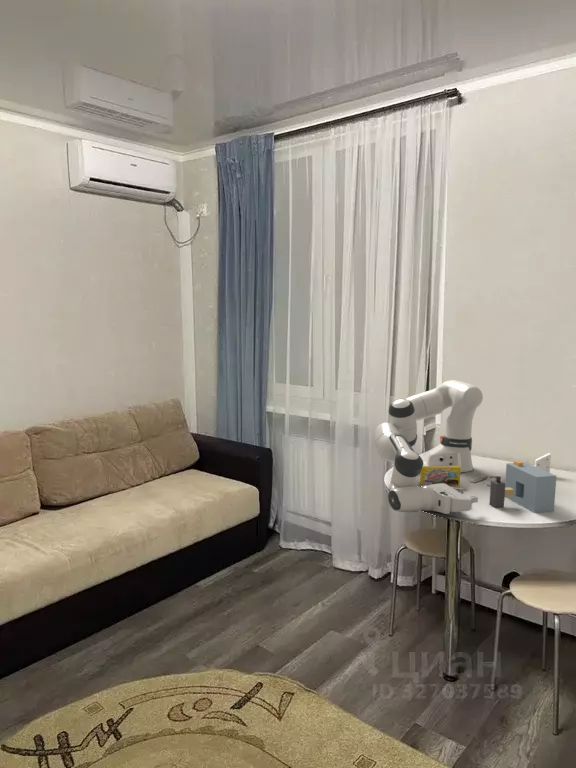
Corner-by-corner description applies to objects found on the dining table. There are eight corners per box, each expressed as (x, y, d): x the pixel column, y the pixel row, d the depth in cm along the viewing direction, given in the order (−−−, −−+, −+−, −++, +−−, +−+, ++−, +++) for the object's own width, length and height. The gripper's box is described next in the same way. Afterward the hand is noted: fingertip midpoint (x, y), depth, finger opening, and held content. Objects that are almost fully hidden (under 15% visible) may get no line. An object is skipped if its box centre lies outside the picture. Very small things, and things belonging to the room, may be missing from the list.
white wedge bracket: (560, 471, 250) (550, 453, 250) (538, 482, 252) (529, 464, 251) (557, 469, 254) (548, 451, 253) (535, 479, 256) (526, 462, 255)
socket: (534, 512, 207) (536, 473, 205) (504, 496, 224) (506, 460, 222) (553, 511, 209) (556, 472, 207) (523, 495, 226) (525, 459, 224)
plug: (495, 508, 211) (496, 478, 210) (489, 504, 215) (491, 475, 213) (513, 506, 213) (515, 477, 212) (507, 503, 217) (509, 474, 215)
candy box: (420, 487, 235) (421, 467, 234) (419, 485, 237) (419, 465, 236) (460, 486, 236) (461, 466, 235) (458, 485, 238) (459, 465, 237)
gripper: (421, 496, 218) (454, 494, 221) (448, 516, 198) (484, 513, 201) (421, 480, 217) (455, 478, 220) (448, 498, 197) (485, 495, 200)
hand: (469, 495), depth 210 cm, fingers open, 8 cm apart
